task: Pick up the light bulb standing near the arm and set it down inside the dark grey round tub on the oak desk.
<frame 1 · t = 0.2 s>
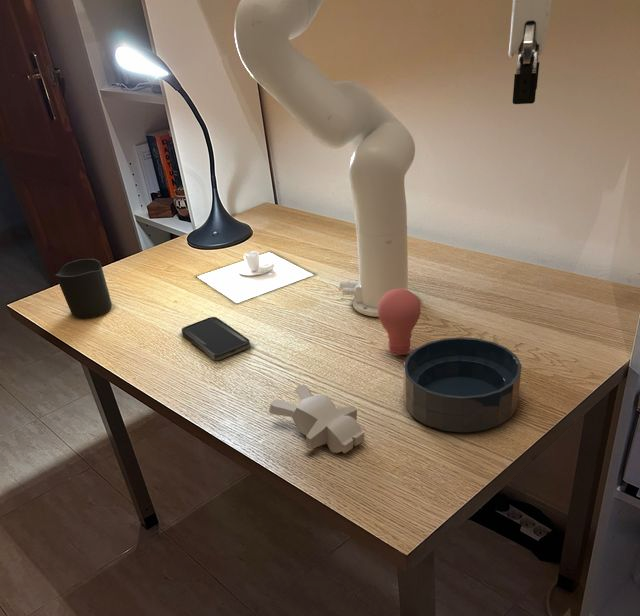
hand: (524, 96, 98), 37 cm above the table, tool pointing down, fingers open, 9 cm apart
teacup and saucer: (254, 276, 145), on the table
bunny figurine: (320, 432, 95), on the table
light bulb: (400, 354, 111), on the table
dark grey round tub: (459, 401, 98), on the table
phone: (215, 341, 121), on the table
dark grey spouted beaker: (92, 311, 138), on the table
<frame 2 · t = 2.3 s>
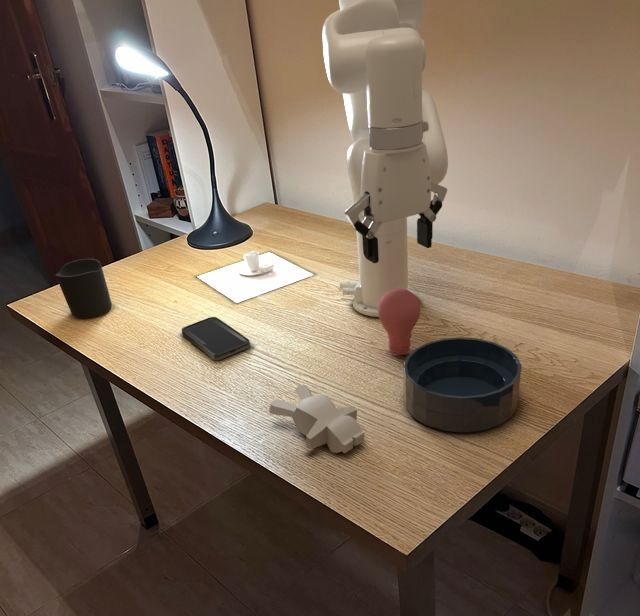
hand: (398, 252, 100), 19 cm above the table, tool pointing down, fingers open, 9 cm apart
nothing on the table moved.
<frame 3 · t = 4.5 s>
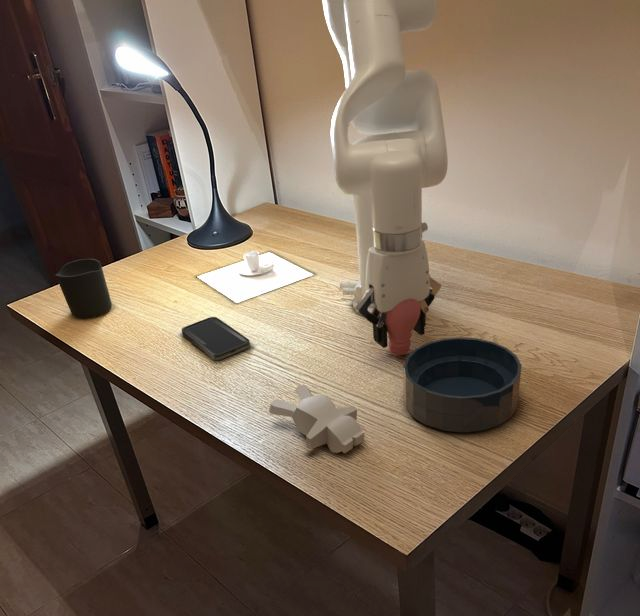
hand: (399, 337, 109), 3 cm above the table, tool pointing down, fingers closed on light bulb, 6 cm apart
light bulb: (400, 354, 111), on the table, touching gripper
everything else where it was.
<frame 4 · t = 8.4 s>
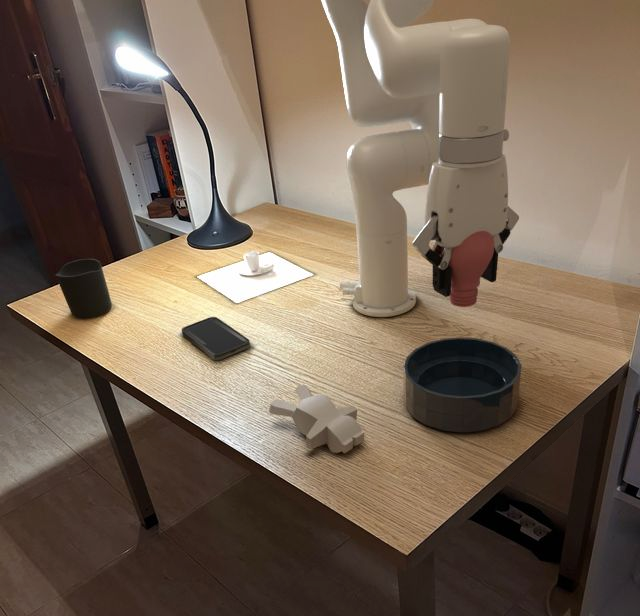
hand: (464, 284, 86), 19 cm above the table, tool pointing down, fingers closed on light bulb, 6 cm apart
light bulb: (463, 307, 88), point 16 cm above the table, touching gripper
everything else where it was.
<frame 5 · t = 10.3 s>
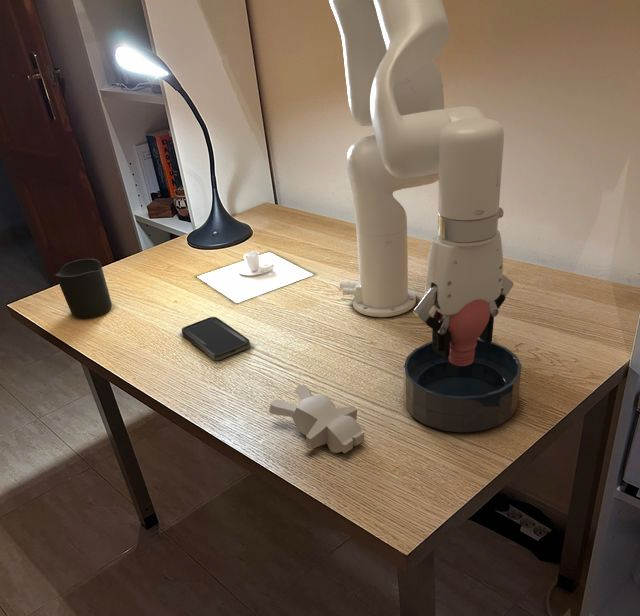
hand: (462, 345, 92), 10 cm above the table, tool pointing down, fingers closed on light bulb, 6 cm apart
light bulb: (461, 365, 94), point 6 cm above the table, touching gripper
everything else where it was.
when the fingers open (4 cm above the table, at t = 12.3 s): light bulb stays where it is, resting on dark grey round tub.
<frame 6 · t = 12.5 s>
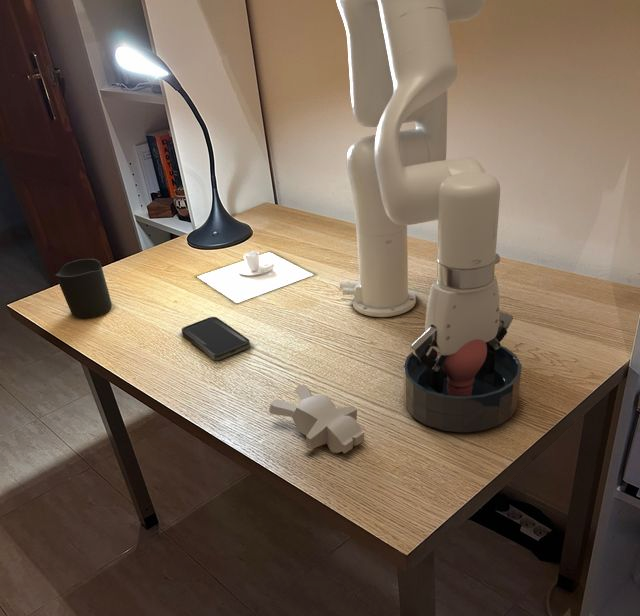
hand: (460, 379, 95), 4 cm above the table, tool pointing down, fingers open, 8 cm apart
light bulb: (459, 399, 97), resting on dark grey round tub
everything else where it was.
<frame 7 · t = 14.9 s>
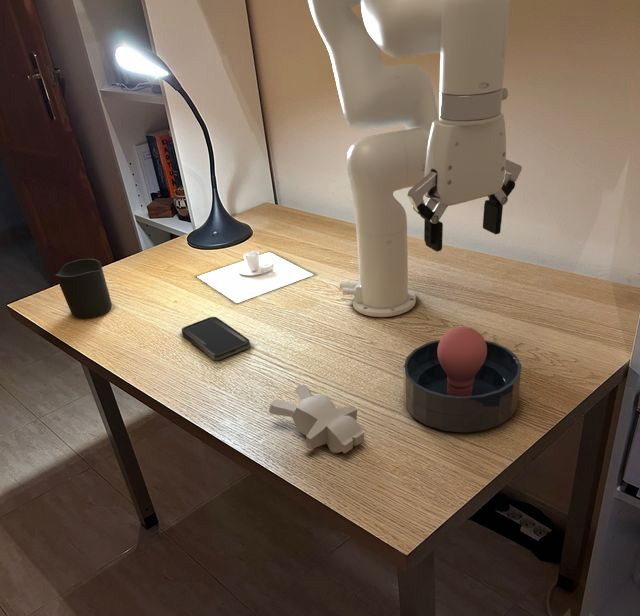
hand: (462, 239, 88), 24 cm above the table, tool pointing down, fingers open, 9 cm apart
nothing on the table moved.
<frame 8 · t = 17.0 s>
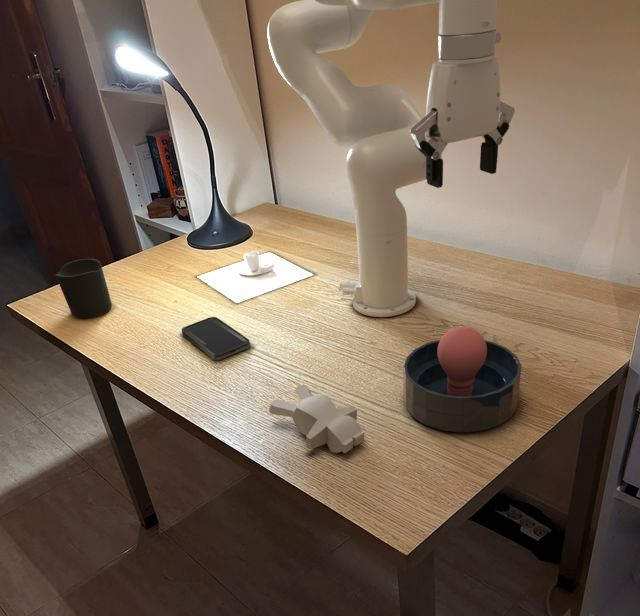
hand: (461, 178, 95), 28 cm above the table, tool pointing down, fingers open, 9 cm apart
nothing on the table moved.
at the end: light bulb inside the target area in the dark grey round tub (0.0 cm from its centre), point 0.3 cm above the dark grey round tub's base; the gripper is holding nothing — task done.
